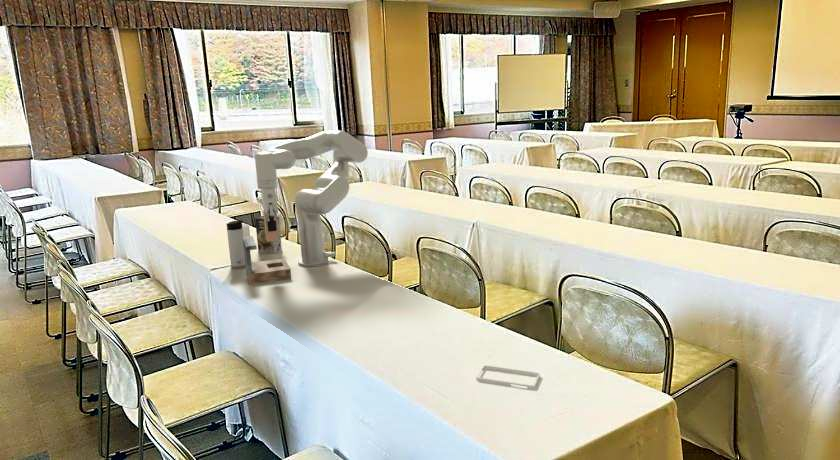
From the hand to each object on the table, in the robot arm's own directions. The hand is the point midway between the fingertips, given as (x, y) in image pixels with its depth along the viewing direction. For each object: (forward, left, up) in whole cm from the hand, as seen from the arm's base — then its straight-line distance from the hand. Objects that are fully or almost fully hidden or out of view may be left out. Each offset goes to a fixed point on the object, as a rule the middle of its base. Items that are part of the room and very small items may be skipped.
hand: (271, 229), depth 244 cm
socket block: (+3, 0, -19) cm, 19 cm away
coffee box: (-2, -37, -19) cm, 42 cm away
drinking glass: (+10, -30, -19) cm, 37 cm away
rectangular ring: (-44, +115, -20) cm, 125 cm away
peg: (0, 0, -4) cm, 4 cm away
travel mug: (+13, -18, -19) cm, 29 cm away
